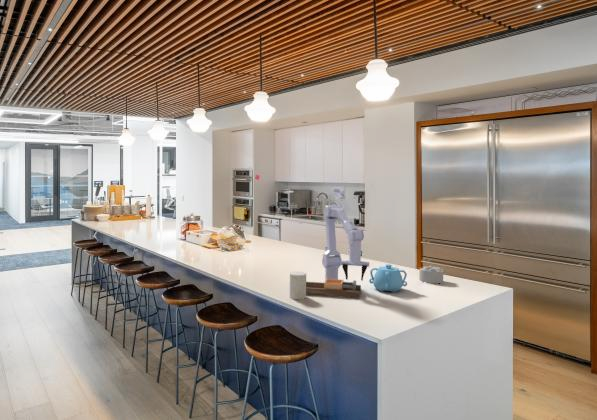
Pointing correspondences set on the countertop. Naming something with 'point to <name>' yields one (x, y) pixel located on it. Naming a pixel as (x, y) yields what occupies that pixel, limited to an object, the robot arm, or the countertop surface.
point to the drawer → (338, 284)
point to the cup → (297, 285)
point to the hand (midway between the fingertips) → (354, 279)
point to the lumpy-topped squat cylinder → (431, 274)
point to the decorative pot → (388, 278)
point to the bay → (331, 290)
